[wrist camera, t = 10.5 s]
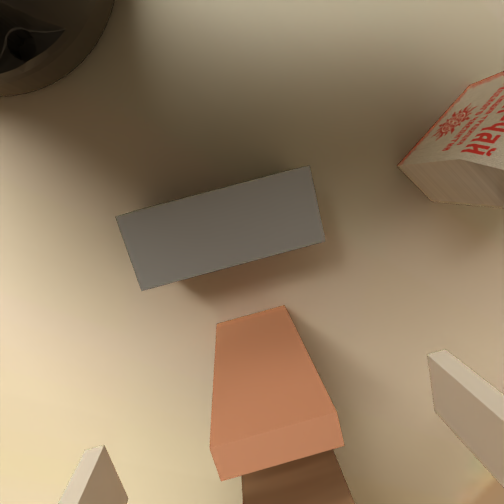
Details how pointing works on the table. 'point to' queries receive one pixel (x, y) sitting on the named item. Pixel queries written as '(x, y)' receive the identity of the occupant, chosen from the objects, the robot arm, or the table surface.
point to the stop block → (222, 228)
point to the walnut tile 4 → (298, 482)
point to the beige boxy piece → (464, 150)
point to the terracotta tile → (267, 397)
